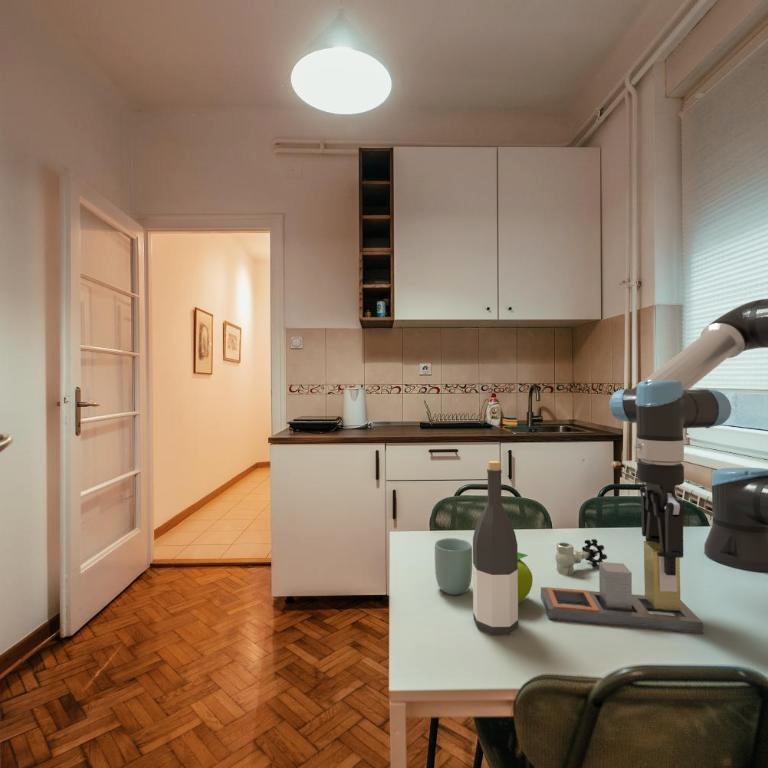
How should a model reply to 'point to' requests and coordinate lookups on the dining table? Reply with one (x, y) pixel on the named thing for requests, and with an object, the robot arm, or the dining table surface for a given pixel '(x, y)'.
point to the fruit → (523, 578)
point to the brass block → (652, 580)
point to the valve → (577, 556)
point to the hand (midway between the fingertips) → (661, 583)
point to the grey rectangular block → (615, 587)
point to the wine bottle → (495, 564)
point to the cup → (453, 565)
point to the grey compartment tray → (615, 612)
